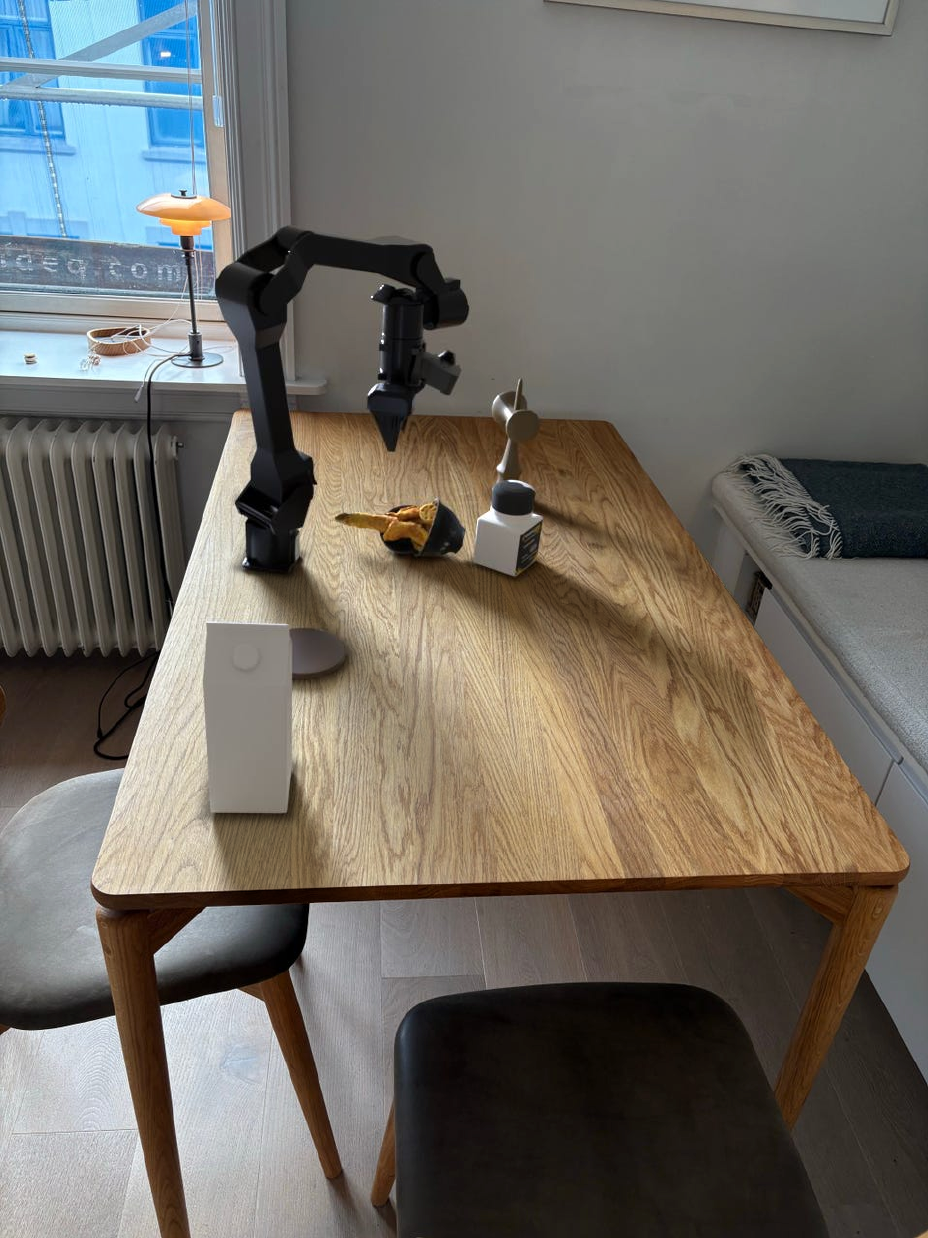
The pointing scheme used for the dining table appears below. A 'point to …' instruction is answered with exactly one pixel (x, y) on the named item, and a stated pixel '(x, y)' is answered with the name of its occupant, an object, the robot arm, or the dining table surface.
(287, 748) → the milk carton
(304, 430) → the dining table surface
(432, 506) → the fried shrimp in bowl
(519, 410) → the kendama
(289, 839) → the dining table surface
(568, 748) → the dining table surface
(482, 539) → the medicine bottle
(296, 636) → the coaster
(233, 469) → the dining table surface
